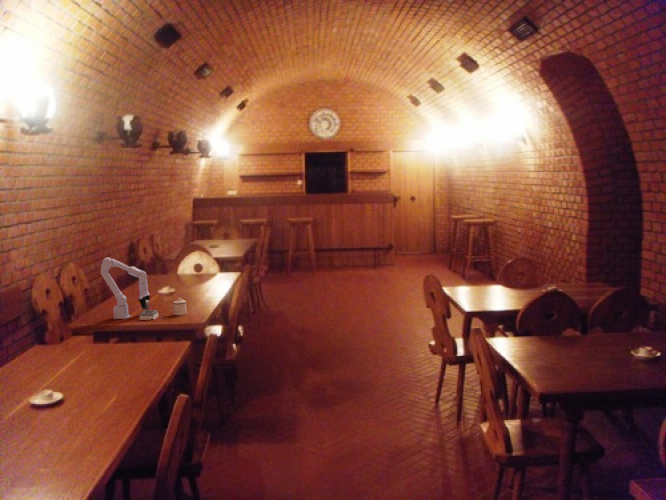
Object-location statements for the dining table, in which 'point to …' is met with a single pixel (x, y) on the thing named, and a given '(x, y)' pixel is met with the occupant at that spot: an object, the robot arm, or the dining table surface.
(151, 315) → the grey square tray
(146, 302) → the gray domed cylinder
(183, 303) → the teacup with lid
